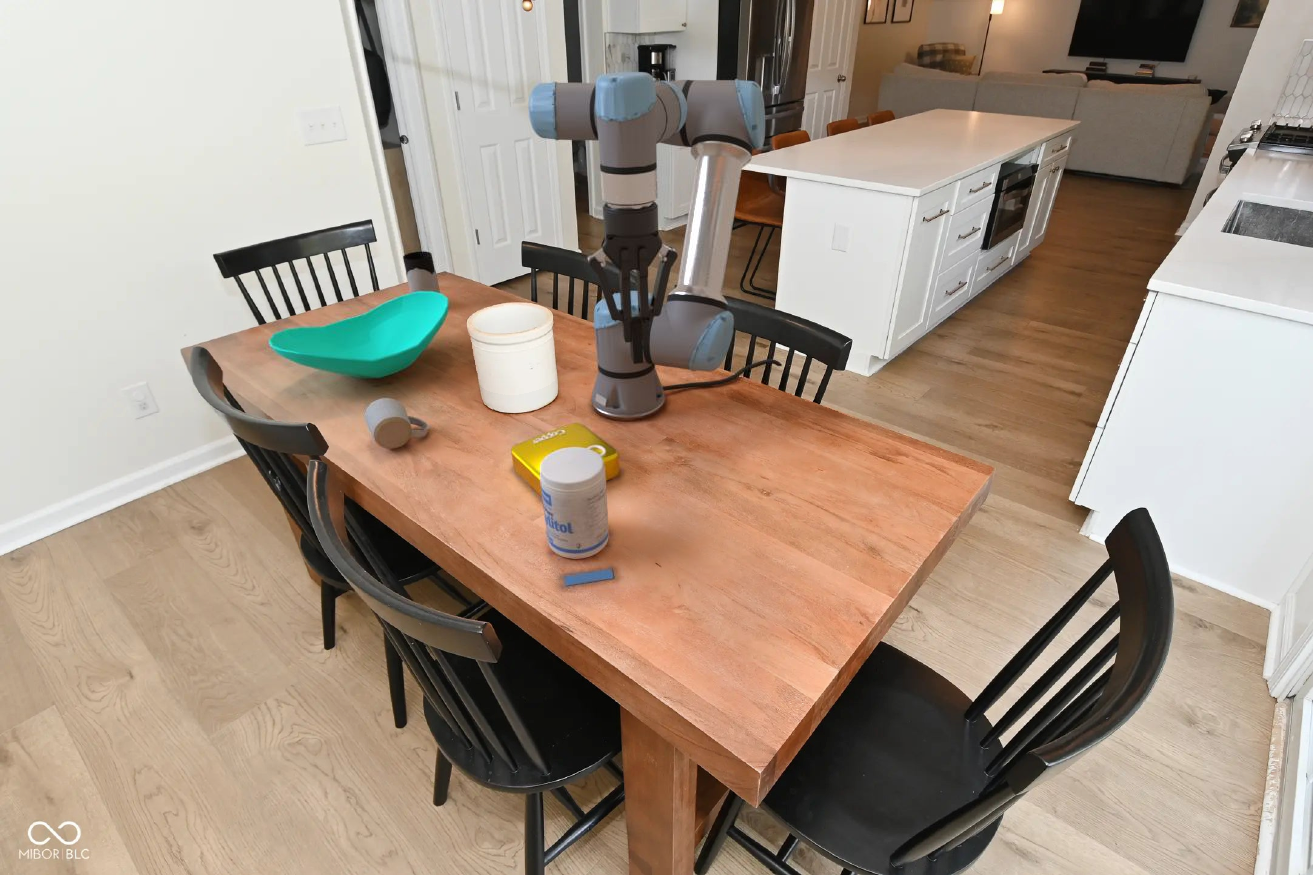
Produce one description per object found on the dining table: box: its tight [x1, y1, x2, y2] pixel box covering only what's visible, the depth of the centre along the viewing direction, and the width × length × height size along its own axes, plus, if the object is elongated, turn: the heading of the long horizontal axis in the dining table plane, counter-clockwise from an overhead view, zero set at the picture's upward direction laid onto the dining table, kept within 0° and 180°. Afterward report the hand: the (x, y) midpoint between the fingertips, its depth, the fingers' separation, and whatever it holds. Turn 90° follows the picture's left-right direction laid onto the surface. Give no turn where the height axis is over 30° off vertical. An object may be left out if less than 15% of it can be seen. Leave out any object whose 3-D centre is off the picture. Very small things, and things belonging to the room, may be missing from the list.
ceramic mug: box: [364, 397, 429, 450], centre depth 131 cm, size 11×8×8 cm
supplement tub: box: [540, 447, 610, 560], centre depth 103 cm, size 10×10×15 cm
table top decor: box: [268, 291, 450, 380], centre depth 155 cm, size 40×28×13 cm
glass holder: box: [402, 250, 441, 294], centre depth 190 cm, size 9×14×15 cm, turn 5°
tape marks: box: [564, 568, 615, 587], centre depth 107 cm, size 7×19×1 cm, turn 11°
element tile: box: [510, 422, 620, 498], centre depth 121 cm, size 15×15×5 cm
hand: (637, 359), depth 105 cm, fingers closed
